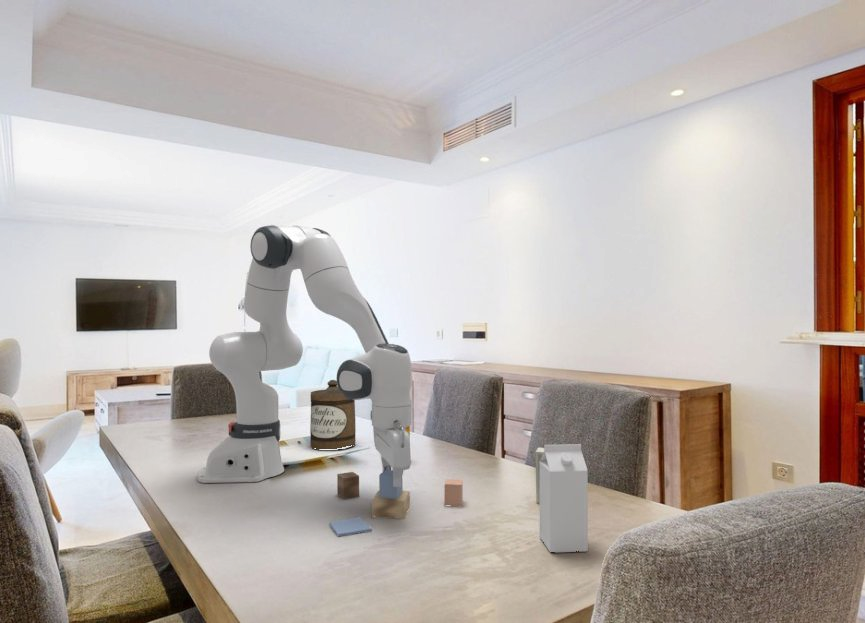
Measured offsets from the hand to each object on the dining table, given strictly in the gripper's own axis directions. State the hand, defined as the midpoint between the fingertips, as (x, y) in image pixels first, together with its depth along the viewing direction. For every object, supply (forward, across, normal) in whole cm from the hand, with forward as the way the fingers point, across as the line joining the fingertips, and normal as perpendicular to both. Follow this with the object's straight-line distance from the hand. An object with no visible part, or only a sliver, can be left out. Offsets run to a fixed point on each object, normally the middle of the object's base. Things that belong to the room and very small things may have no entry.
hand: (391, 479), depth 124 cm
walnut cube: (+7, +14, +7) cm, 18 cm away
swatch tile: (+7, -7, +10) cm, 14 cm away
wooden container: (+7, +67, +4) cm, 68 cm away
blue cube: (+3, 0, 0) cm, 3 cm away
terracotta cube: (+7, +1, -15) cm, 17 cm away
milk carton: (+7, -27, -27) cm, 39 cm away
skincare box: (+7, -4, -37) cm, 38 cm away
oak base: (+7, 0, 0) cm, 7 cm away
